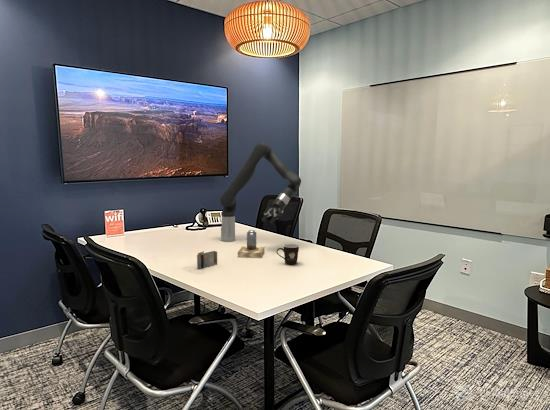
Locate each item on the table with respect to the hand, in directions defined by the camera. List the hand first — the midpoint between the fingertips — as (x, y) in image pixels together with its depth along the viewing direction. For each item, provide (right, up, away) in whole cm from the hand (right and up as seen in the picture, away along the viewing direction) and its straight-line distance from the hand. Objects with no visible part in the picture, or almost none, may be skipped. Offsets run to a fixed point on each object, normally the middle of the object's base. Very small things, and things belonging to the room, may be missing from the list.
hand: (266, 221), depth 226 cm
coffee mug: (+12, -22, -23) cm, 34 cm away
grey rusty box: (-31, -23, -30) cm, 49 cm away
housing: (-9, -16, -5) cm, 19 cm away
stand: (-9, -19, -5) cm, 22 cm away
